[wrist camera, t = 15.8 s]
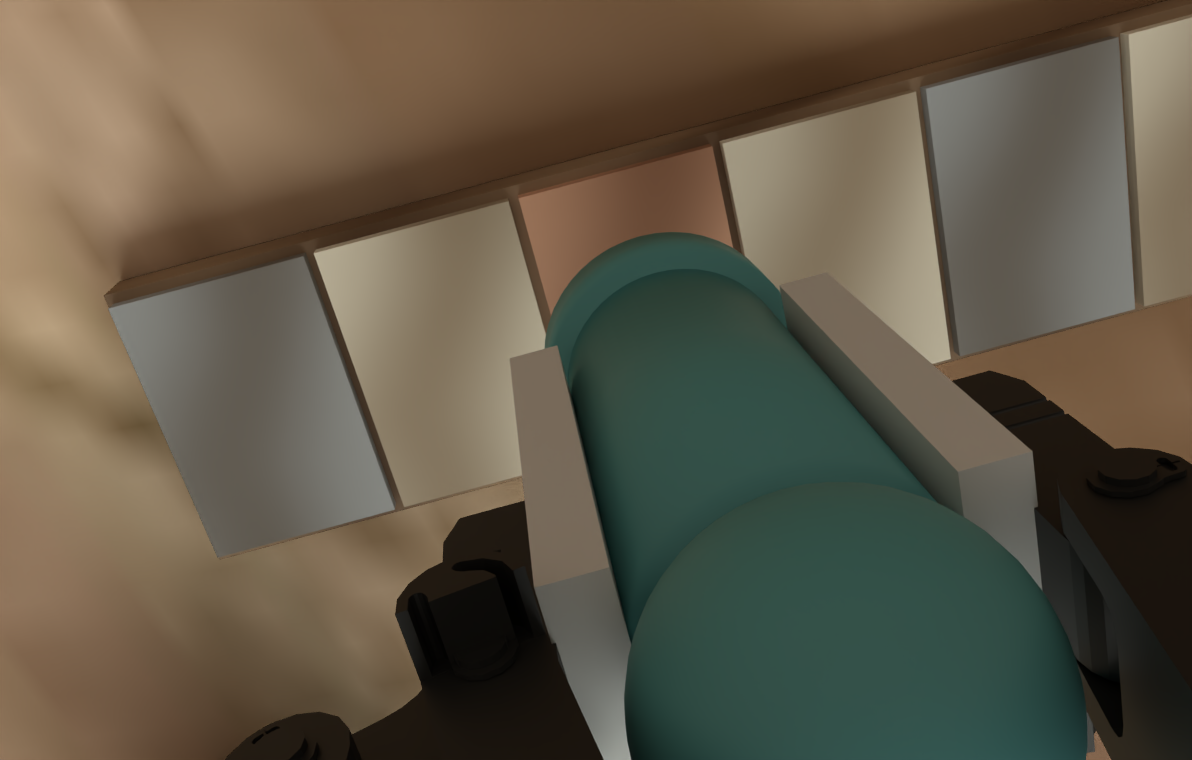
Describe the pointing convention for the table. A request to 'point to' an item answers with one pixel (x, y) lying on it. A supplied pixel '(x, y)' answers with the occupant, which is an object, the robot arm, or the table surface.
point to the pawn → (787, 541)
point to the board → (671, 204)
